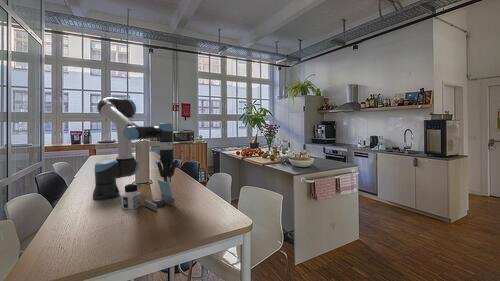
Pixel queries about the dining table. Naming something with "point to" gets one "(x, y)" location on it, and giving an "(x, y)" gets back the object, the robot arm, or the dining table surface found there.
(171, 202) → the dark grey shallow box
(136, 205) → the container
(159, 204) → the dark grey rounded disc
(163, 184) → the lid
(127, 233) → the dining table surface
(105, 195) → the robot arm
